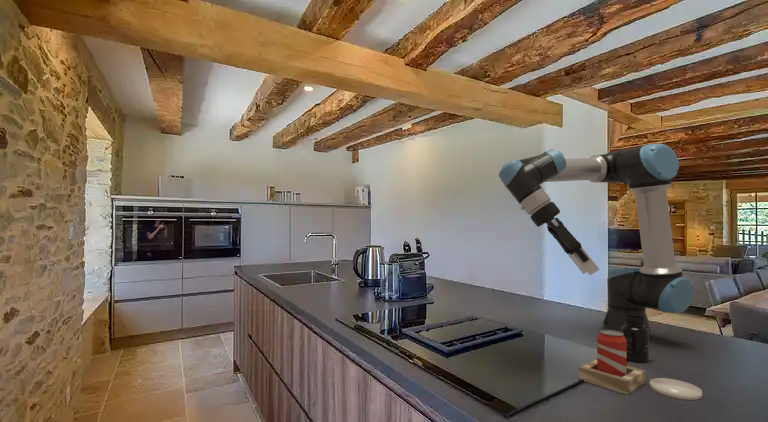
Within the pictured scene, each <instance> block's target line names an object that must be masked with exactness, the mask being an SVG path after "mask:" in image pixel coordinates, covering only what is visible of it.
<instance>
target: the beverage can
mask: <svg viewBox="0 0 768 422" xmlns="http://www.w3.org/2000/svg"><path fill="white" fill-rule="evenodd" d="M596 340H597V342H596V343H597V345H596V348H597V349H596V353H597V354H596V355H597V356H596V357H597V370H598V371H602V372H605V373H609V374H612V375H616V376H619V377H623V376H625V375H627V366H628V365H627V361H628V360H627V353H626V339H625V337H624V333H622V332H619V331H615V330H603V329H601V330H599V334H598V335H597V339H596Z"/></svg>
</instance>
